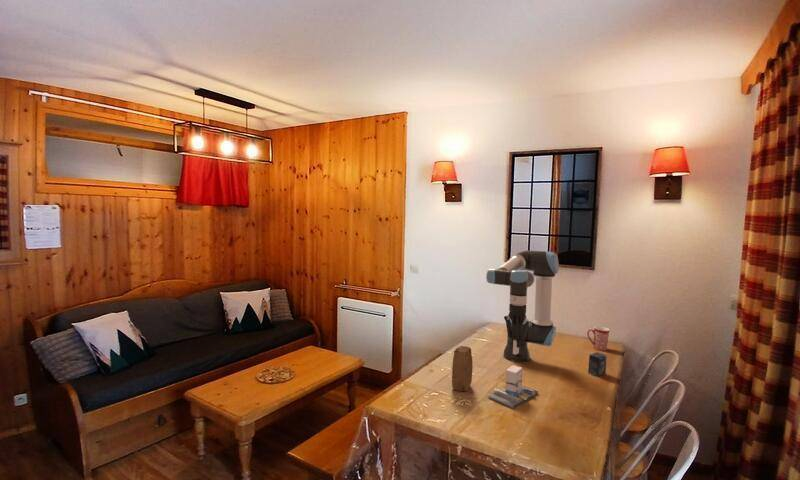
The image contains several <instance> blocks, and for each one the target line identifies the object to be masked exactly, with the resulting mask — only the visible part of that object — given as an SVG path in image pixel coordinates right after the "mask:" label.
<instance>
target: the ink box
mask: <svg viewBox="0 0 800 480" xmlns="http://www.w3.org/2000/svg"><path fill="white" fill-rule="evenodd" d="M505 372H506V373H505V387H506V393H508V394H511V395H513V396H517V395H518V394H520V393H521V392H522V386H523V367H520V366H517V365H511V366H510V367H508V368H507V369H506V371H505Z"/></svg>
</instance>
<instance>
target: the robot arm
mask: <svg viewBox="0 0 800 480" xmlns="http://www.w3.org/2000/svg"><path fill="white" fill-rule="evenodd" d="M559 265H560V262H559V258H558V255H557V254H556V253H555V252H553V251H543V250H541V251H540V250H529V249H528V250H522V251H519V252H517V253H514V254H513V255H511V256H510V257H509V259H508V261H506V262H505V263H503V264H502V265H500V266H499V267H498V268H488V270H487V271H486V277H485V278H486V282H487V283H488V284H492V285H500V286H508V287H509V308H508V311H509V312H508V314H507V315H505V316H503V320H504V321H505V325H506V331H507V334H506V337H507V339H506V345H505V348H504V350H503V354H502V355H503V358H505V359H507V360H509V361H511V362H520V363H522V362H523V363H525V362H527V361H528V362H529V361H530V360H531V359H530V358H531V353H530V350H529V348H528V343H529V344H534V345H540V346H544V347H551V346H552V345H553V343H554V340H555V337H556V333H557V327H556V326H555V325H554V322H553V321H552V320H551V314H552V312H551V310H552V291H553V290H552V289H553V288H552V287H553V286H552V285H553V278H555V277H556V275H557V274H558V273H559V271H560V270H559V267H560V266H559ZM534 283H535V293H534V294H535V295H534V296H535V297H534V298H535V299H534V318H533V319H531V320H529V319H528V318H527V315H526V313H527V304H528V303H527V299H528V297H527V296H528V288H529V287H531V286H533V284H534Z"/></svg>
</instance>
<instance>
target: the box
mask: <svg viewBox="0 0 800 480" xmlns="http://www.w3.org/2000/svg"><path fill="white" fill-rule="evenodd" d="M588 355H589V356H588V357H589V358H588V369H587V371H588V372H587V373H588V375H589V374H590V375H592V376H595V377H600V376H603V375H606V373H607V358H608V355H607V354H604V353H602V352H598V351H597V352H594V353H590V354H588Z"/></svg>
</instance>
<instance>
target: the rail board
mask: <svg viewBox="0 0 800 480" xmlns="http://www.w3.org/2000/svg"><path fill="white" fill-rule="evenodd" d="M538 395H539V391H538V390H535V389H532V388H531V387H528V386H525V385H522V392H521V393H520V394H518V395H517V396H513V395H511V394H508V393H506V386H504V387H502V388H500V389H498V388H496V387H495V388H494V389H493V392H492V393H490V394H489V395H487V398H488V399H490V400H492V401H495V402H497V403H499V404H501V405H504V406H506V407H508V408H510V409H513V410H514V409H515V408H517V407H519V406H521V405H522V404H524V403H526V402H528V401H529V400H531V399H532V398H534V397H535V396H538Z"/></svg>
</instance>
